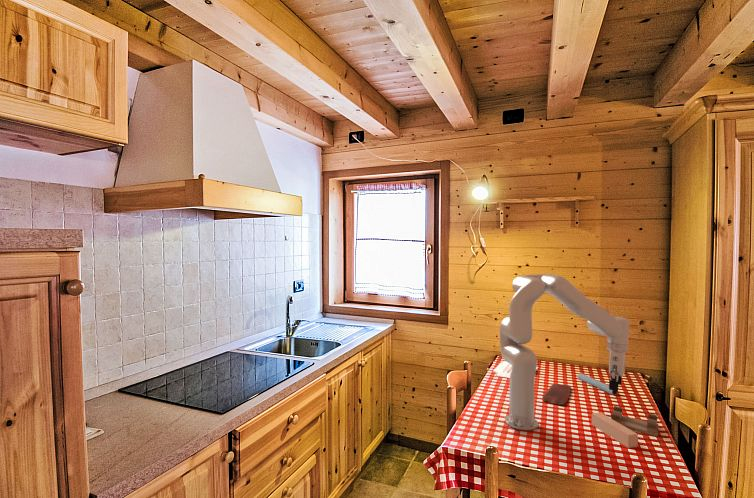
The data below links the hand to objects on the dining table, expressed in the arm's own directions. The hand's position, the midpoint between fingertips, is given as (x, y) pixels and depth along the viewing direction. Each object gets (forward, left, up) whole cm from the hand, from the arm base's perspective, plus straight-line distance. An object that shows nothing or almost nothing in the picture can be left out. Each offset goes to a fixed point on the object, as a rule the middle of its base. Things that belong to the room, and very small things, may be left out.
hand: (615, 387), depth 165 cm
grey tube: (+35, +12, -14) cm, 40 cm away
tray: (+34, +52, -14) cm, 64 cm away
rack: (-2, -7, -13) cm, 15 cm away
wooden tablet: (+13, +30, -13) cm, 35 cm away
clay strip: (-16, -1, -14) cm, 21 cm away
